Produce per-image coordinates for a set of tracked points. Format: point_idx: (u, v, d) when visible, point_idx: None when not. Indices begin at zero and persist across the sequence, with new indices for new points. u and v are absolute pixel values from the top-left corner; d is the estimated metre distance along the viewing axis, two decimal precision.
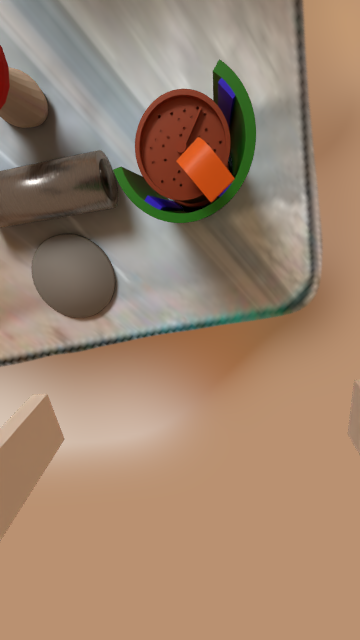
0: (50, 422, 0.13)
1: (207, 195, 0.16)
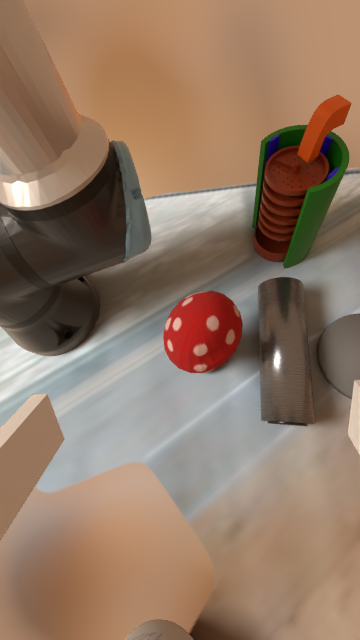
0: (50, 422, 0.13)
1: (347, 103, 0.27)
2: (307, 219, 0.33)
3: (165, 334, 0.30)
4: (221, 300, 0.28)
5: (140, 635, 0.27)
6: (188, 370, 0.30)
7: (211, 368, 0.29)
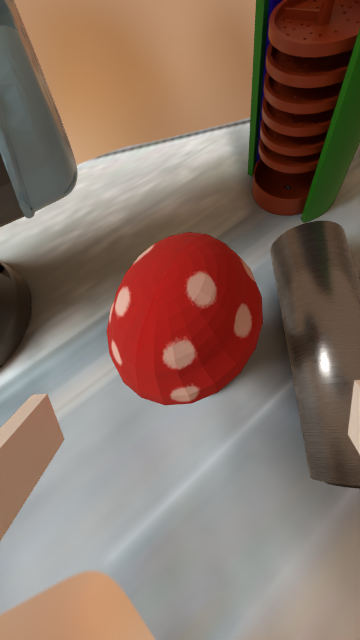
0: (50, 422, 0.13)
1: None
2: (353, 106, 0.19)
3: (108, 330, 0.15)
4: (217, 244, 0.13)
5: None
6: (161, 401, 0.14)
7: (209, 392, 0.14)
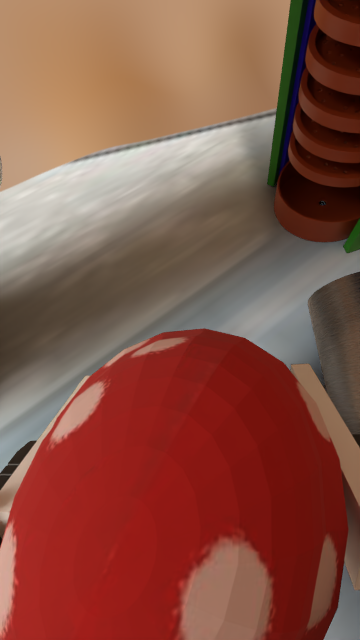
0: None
1: None
2: None
3: None
4: (259, 394, 0.05)
5: None
6: None
7: None
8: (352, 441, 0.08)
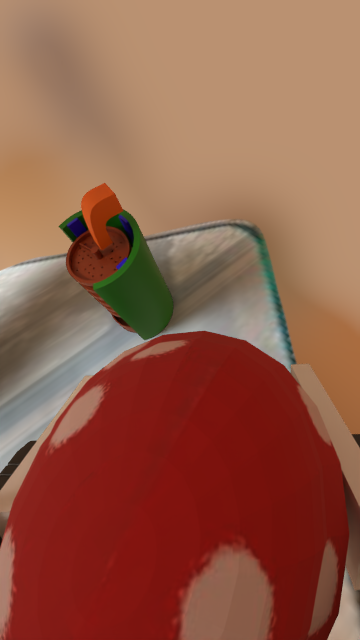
0: None
1: (110, 194, 0.24)
2: (121, 306, 0.29)
3: None
4: (260, 399, 0.05)
5: None
6: None
7: None
8: (352, 441, 0.08)
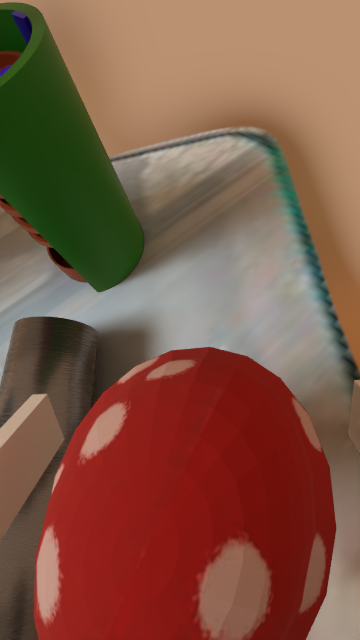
0: (50, 422, 0.13)
1: None
2: (25, 199, 0.16)
3: None
4: (260, 416, 0.06)
5: None
6: None
7: None
8: None
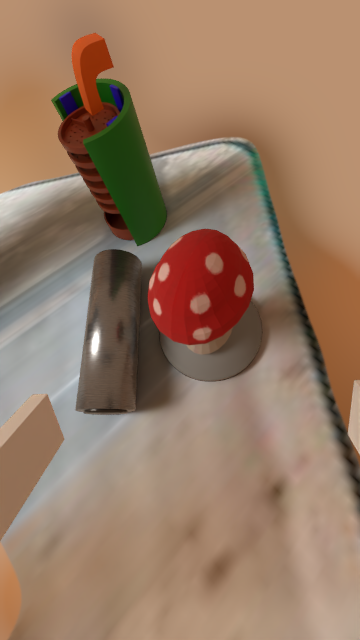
0: (50, 422, 0.13)
1: (99, 39, 0.24)
2: (112, 180, 0.30)
3: (149, 295, 0.22)
4: (223, 236, 0.20)
5: None
6: (185, 340, 0.21)
7: (217, 334, 0.21)
8: None
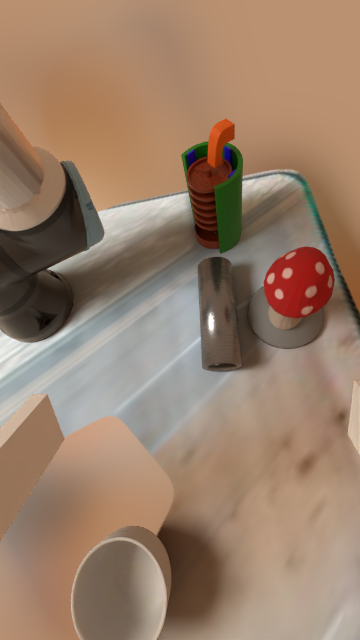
0: (50, 422, 0.13)
1: (231, 124, 0.38)
2: (222, 210, 0.43)
3: (270, 287, 0.36)
4: (320, 251, 0.34)
5: (113, 533, 0.35)
6: (295, 314, 0.35)
7: (315, 310, 0.35)
8: None
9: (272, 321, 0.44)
